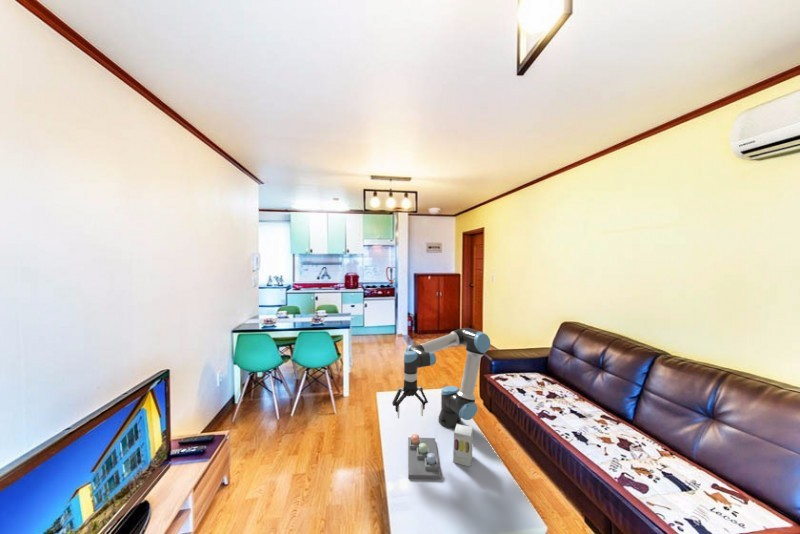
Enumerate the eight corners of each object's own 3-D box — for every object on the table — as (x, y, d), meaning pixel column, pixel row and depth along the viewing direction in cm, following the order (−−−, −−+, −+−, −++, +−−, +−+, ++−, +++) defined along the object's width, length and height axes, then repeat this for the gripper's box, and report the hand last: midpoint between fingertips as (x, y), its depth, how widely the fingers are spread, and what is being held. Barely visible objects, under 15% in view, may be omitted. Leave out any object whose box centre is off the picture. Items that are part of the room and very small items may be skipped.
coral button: (418, 439, 173) (418, 434, 173) (419, 444, 168) (419, 438, 168) (411, 439, 173) (411, 433, 173) (411, 444, 169) (411, 438, 168)
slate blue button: (435, 459, 157) (435, 452, 156) (435, 465, 152) (435, 458, 152) (426, 459, 157) (426, 452, 157) (427, 465, 152) (427, 458, 152)
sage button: (426, 449, 165) (426, 443, 165) (427, 454, 160) (427, 448, 160) (418, 448, 165) (418, 442, 165) (419, 454, 160) (419, 448, 160)
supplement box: (452, 462, 160) (453, 432, 159) (455, 451, 168) (455, 423, 167) (470, 467, 156) (471, 436, 155) (472, 455, 165) (473, 426, 164)
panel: (434, 441, 178) (434, 435, 177) (440, 479, 148) (440, 472, 147) (408, 440, 178) (408, 434, 178) (408, 478, 148) (408, 471, 148)
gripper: (430, 375, 172) (429, 410, 173) (387, 377, 168) (387, 414, 169) (433, 380, 165) (433, 417, 166) (389, 383, 161) (389, 421, 162)
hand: (410, 416), depth 167 cm, fingers open, 13 cm apart
